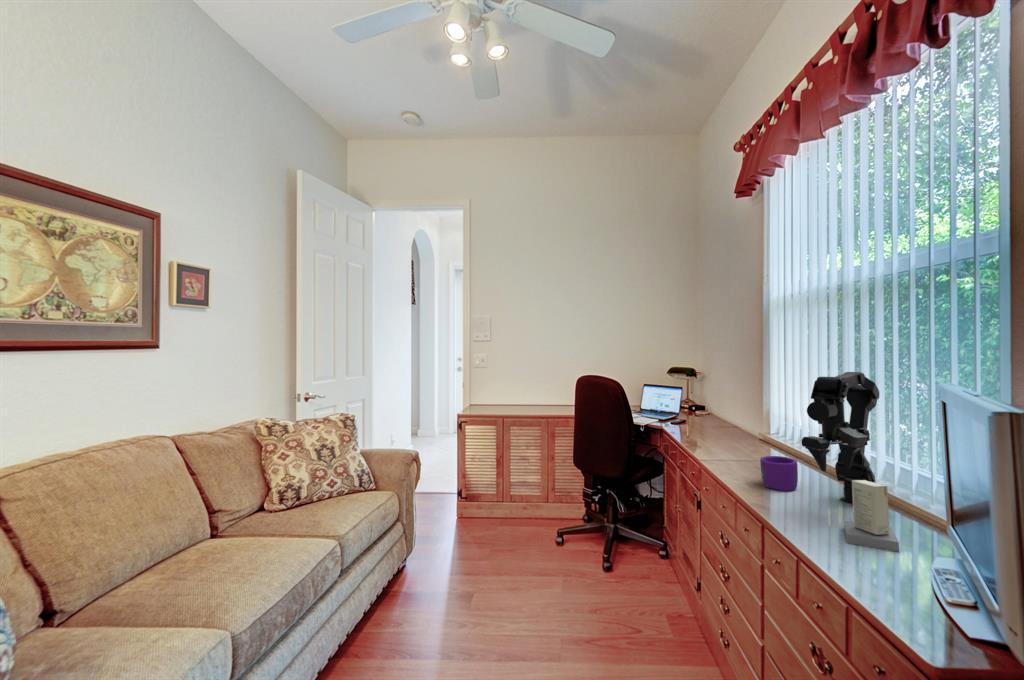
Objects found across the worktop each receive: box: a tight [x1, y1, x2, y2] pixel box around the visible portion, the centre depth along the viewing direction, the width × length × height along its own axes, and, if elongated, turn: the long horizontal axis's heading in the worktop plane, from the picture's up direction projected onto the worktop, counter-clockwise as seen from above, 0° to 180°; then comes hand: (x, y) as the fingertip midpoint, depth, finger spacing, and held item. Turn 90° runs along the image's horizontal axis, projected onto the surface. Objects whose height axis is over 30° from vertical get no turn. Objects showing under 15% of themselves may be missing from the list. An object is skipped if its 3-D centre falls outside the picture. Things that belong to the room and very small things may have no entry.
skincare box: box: [852, 480, 890, 535], centre depth 112 cm, size 6×4×12 cm
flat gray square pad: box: [843, 519, 900, 553], centre depth 112 cm, size 10×10×3 cm
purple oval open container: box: [760, 455, 799, 492], centre depth 157 cm, size 17×11×10 cm, turn 152°
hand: (835, 469), depth 129 cm, fingers open, 9 cm apart
